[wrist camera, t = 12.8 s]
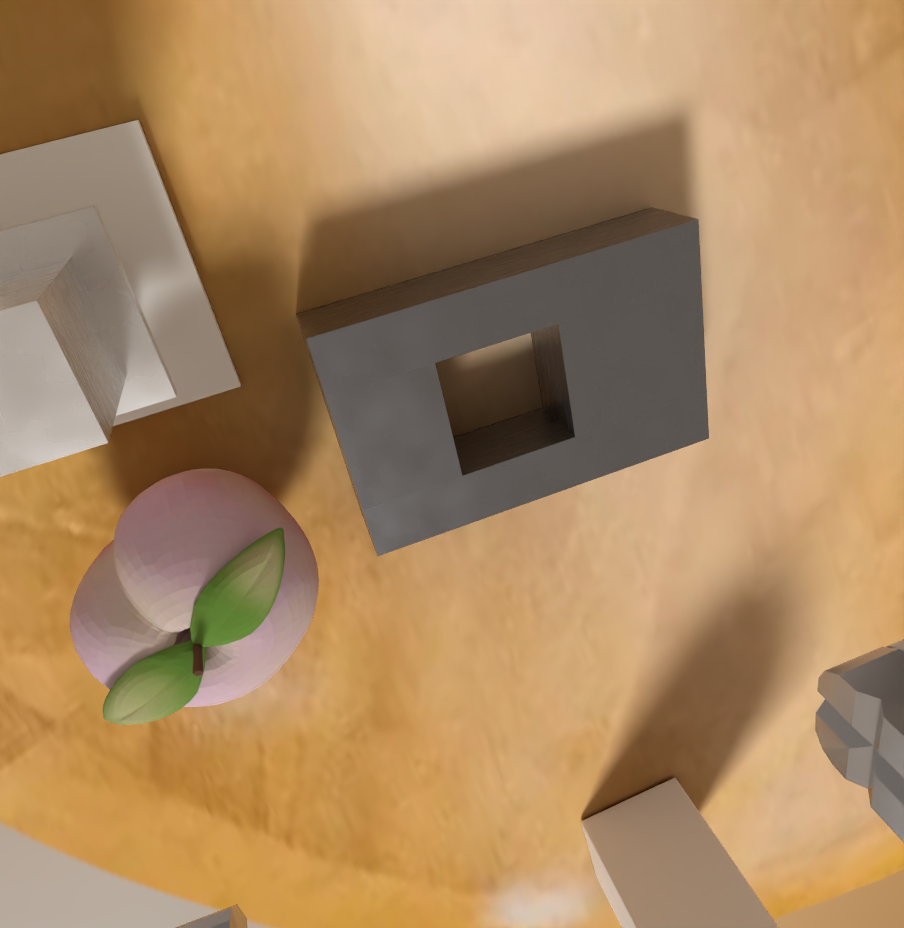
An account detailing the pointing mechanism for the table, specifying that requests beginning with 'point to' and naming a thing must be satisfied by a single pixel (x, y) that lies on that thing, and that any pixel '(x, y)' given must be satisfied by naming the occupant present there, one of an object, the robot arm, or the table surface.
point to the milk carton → (668, 865)
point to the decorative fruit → (194, 596)
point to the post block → (558, 365)
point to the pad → (129, 244)
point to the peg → (69, 340)
